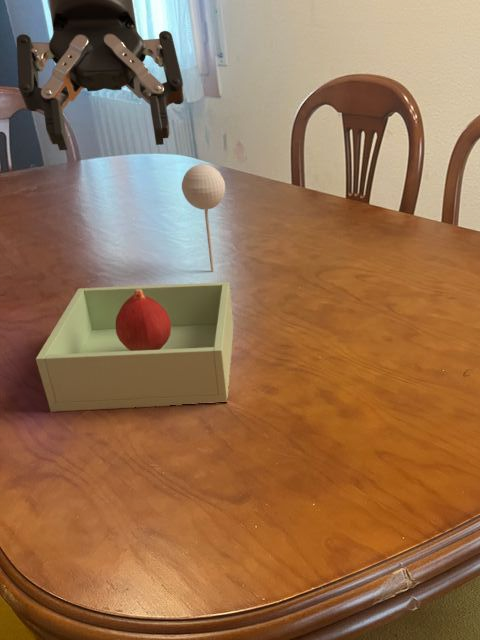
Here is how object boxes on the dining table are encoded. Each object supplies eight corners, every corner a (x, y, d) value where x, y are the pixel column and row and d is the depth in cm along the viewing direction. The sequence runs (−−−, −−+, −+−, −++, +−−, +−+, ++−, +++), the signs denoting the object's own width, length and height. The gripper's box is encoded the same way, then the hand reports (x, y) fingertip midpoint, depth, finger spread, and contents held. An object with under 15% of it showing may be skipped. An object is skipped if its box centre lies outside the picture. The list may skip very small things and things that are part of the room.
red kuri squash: (110, 360, 72) (96, 292, 68) (149, 341, 76) (138, 275, 72) (147, 374, 70) (135, 304, 65) (186, 353, 74) (176, 285, 69)
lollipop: (208, 261, 101) (196, 158, 93) (240, 267, 99) (231, 162, 91) (184, 275, 96) (169, 167, 88) (217, 281, 94) (206, 171, 86)
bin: (50, 412, 66) (35, 358, 62) (88, 334, 80) (78, 288, 77) (227, 403, 67) (221, 350, 63) (233, 328, 81) (229, 282, 78)
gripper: (-3, -46, 57) (16, 119, 54) (163, -47, 60) (190, 110, 57) (21, 23, 64) (38, 172, 61) (168, 19, 67) (192, 161, 64)
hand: (111, 142), depth 59 cm, fingers open, 8 cm apart
